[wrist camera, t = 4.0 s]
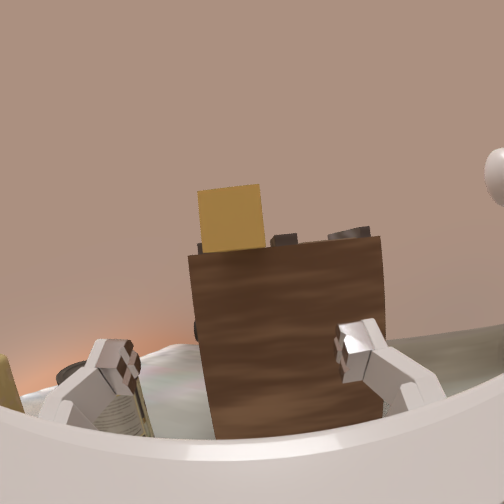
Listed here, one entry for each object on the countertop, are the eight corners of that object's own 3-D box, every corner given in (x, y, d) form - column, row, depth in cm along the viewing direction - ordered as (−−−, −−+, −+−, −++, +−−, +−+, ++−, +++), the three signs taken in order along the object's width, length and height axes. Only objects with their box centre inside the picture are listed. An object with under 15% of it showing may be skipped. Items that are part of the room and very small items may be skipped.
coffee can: (78, 460, 28) (46, 369, 28) (134, 436, 36) (111, 352, 36) (115, 497, 22) (73, 395, 22) (178, 462, 30) (154, 368, 30)
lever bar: (265, 246, 19) (259, 183, 19) (202, 252, 19) (197, 191, 19) (263, 248, 41) (260, 219, 41) (233, 251, 41) (230, 222, 41)
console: (377, 458, 27) (378, 225, 27) (216, 478, 27) (176, 246, 27) (349, 407, 41) (341, 233, 41) (227, 421, 41) (204, 247, 41)
